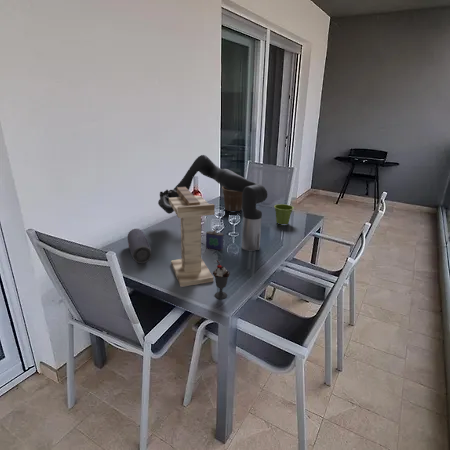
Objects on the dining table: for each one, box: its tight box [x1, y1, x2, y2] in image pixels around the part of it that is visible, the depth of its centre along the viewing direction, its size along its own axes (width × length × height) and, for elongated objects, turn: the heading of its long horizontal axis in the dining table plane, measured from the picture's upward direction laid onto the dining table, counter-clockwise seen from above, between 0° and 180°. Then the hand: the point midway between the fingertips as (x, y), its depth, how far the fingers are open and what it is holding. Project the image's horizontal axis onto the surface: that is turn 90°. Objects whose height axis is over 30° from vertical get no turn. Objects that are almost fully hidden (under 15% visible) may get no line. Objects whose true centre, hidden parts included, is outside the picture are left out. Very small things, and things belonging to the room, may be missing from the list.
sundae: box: [212, 260, 231, 300], centre depth 121 cm, size 7×7×15 cm
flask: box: [205, 229, 225, 252], centre depth 160 cm, size 9×3×11 cm, turn 74°
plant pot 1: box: [221, 186, 243, 212], centre depth 218 cm, size 16×16×16 cm
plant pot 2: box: [273, 203, 295, 225], centre depth 196 cm, size 12×12×11 cm
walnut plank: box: [177, 187, 200, 206], centre depth 132 cm, size 24×4×2 cm, turn 20°
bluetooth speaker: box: [127, 228, 152, 264], centre depth 152 cm, size 23×9×10 cm, turn 22°
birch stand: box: [169, 195, 216, 288], centre depth 133 cm, size 20×14×34 cm
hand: (176, 190), depth 153 cm, fingers open, 8 cm apart
